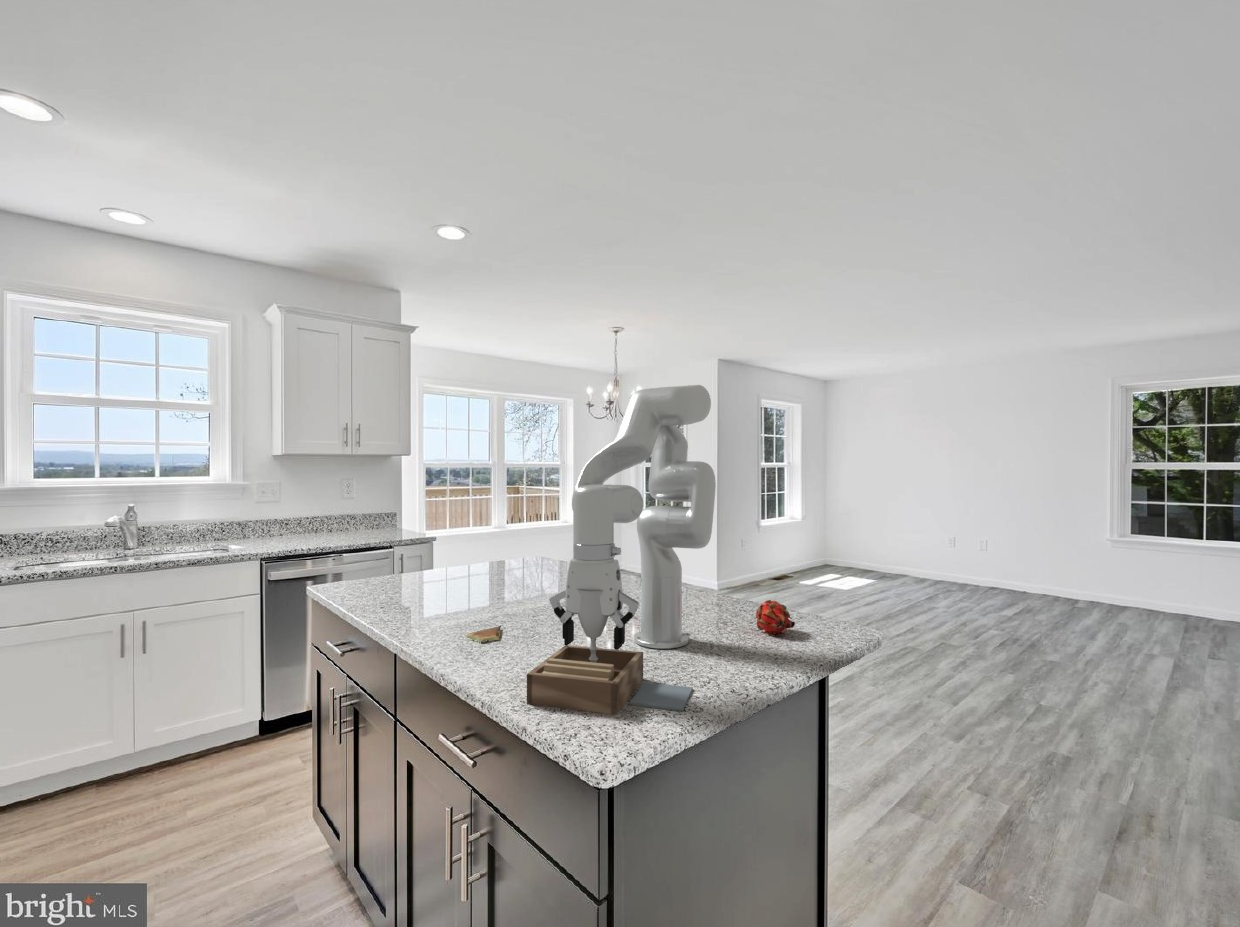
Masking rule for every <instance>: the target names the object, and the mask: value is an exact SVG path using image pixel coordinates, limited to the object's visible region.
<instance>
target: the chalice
mask: <svg viewBox="0 0 1240 927" xmlns="http://www.w3.org/2000/svg"><path fill="white" fill-rule="evenodd" d="M577 590H578V589H577ZM578 592H579V593H580V595H581V598H580V610H579V614H577V616H578V619H579V623H580V625H581V627H582V630H583V632H584V634H585V636H586V637H587V638H589V639H590V648H589V649H590V651H591V656H590V658H589V660H590V662H593V663H596V661H597V660H598V658H597V657H596V650H597V649H598V648H599V647H597V642H596V641H597V638H599V637H601V636H602V634H603V632H604V630H605V627H606V625H607V622H608V619H609V616H603V615H602V612H601V605H600V596H601V594H602V592H603V591H582V590H578Z"/></svg>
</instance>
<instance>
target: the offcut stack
mask: <svg viewBox="0 0 1240 927" xmlns="http://www.w3.org/2000/svg"><path fill="white" fill-rule="evenodd" d="M548 658H549V657H548ZM548 658H547V659H548ZM542 674H552V675H561V676H570V677H580V678H589V679H599V680H608V681H613V680H614V665H613V664H603V663H593V662H583V661H573V660H563V659H553V658H549V659H548V660H547V663H546V664H545V665H544V671H543V672H542Z"/></svg>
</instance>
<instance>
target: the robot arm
mask: <svg viewBox="0 0 1240 927" xmlns="http://www.w3.org/2000/svg"><path fill="white" fill-rule="evenodd" d="M711 401H712V400H711V395H710V393H709V391H708V389H707V388H706V387H705V386H703V385H701V384H692V385H691V384H690V385H689V384H688V385H679V386H678V385H677V386H662V387H653V388H644V389H638V390H637V391H635V392H634V393H633V394H632V395H631V396H630V397H629V400H628V403H627V405H626V407H625V411H624V412H623V416H622V418H621V421H620V423H619V427H618V429H617V432H616V435H615V437H614V439H613V440H612V441H611V442H610V443H608V444H606V445H605V446H604V447H603V448H602V449H600V450H599V451H598V452H597V453H596V454H595V455H593V456H592V457H591V458H590V459H589V460H588V461H587V462H586V463H585V465H584V466H583V468H582V469H581V471H580V473H579V476H578V478H577V482H576V484H575V487H574V489H573V493H572V497H571V510H572V513H573V514H572V515H573V516H572V517H573V522H572V523H573V526H572V527H573V528H572V529H573V532H572V533H573V536H572V540H573V543H572V544H573V546H572V549H573V550H572V552H573V556H572V557H573V558H572V559H570V560H569V565H568V569H567V577H566V582H565V583H566V584H565V589H564V590H562V591H561V592H559V593H557V594H555V595H552V596H551V597H550V598H549V599H548V601H549V603H550V606H551V607H552V609H553V613H554V614H555V615H556V617H557V618H558V619H559V622H560V623H561V624H562V636H561V637H562V639H564V643H563V644H564V646H565V645H570V644H572V643H573V642H574V641H575V627H574V626H575V621H574V619H572V618H573V617H574V615H578V614H579V610H580V598H581V595H580V593H579V592H578V590H582V591H603V592H602V594H601V596H600V605H601V612H602V615H603V616H608V617H610V618H611V620H612V621H613V623H614V624H615V627H613V649H614V650H620V649H621V648H622V647H623V645H624V644H625V641H626V624H628V622H629V621H630V620H631V619H633V618H634V616H635V614H636V612H637V610H638V609H639V607H640V631H639V632H637V633H636V634H634V638H633V639H634V642H635V643H636V644H637V645H639V646H642V647H645V648H651V649H658V650H659V649H665V650H667V649H668V650H669V649H675V648H676V649H677V648H680V647H683V646H686V645H688V644H689V636H688V634H686V633H685V632H683V626H682V625H683V620H682V619H683V618H682V617H683V615H682V614H683V609H682V608H683V607H682V606H683V604H682V603H683V595H682V594H683V590H682V589H683V587H682V586H683V580H682V578H683V577H682V576H683V574H682V573H683V570H682V564H681V563H682V562H681V560H680V558H679V557H678V554H677V552H675V548H676V549H697V550H698V549H703V548H705V547H706V546H708V545H709V543H710V541H711V538H712V537H711V536H712V533H713V523H714V510H715V502H716V501H715V500H716V488H717V486H716V484H717V483H716V481H717V480H716V475H715V470H714V469H713V468H712V465H710V464H709V463H708V462H704V461H698V460H697V461H692V460H691V461H687V460H688V459H687V458H688V451H689V450H688V449H689V448H688V446H689V445H688V441H687V439H686V437H685V435H684V434H683V432H682V430H680V429H679V427H678V426H687V425H693V424H695V423H700V422H702V421H704V420H706V419H707V417H708V415H709V414H710V411H711V406H712V402H711ZM650 457H651V459H650V467H649V477H648V492H649V495H650V496H651V498H653V500H656V501H662V502H677V503H678V502H679V503H681V502H683V503H684V502H687V503H690V506H678V505H677V506H676V505H651V506H647V507H645V508H644V500H643V496H642V494H641V492H640V491H639V490H638V489H637V488H636V487H634V486H631V485H627V484H605V482H606V481H608V480H609V479H610V478H611V477H613V476H615V475H617V474H618V473H620V472H623V471H625V470H628V469H630V468H633V467H635V466H637V465H639V464H642V463H643V462H645V461H647V460H648V459H649V458H650ZM635 520H636V531H637V538H638V542H639V543H638V544H639V548H640V549H639V550H640V603H639V601H637V600H635V599H634V598H633V597H630V596H628V594H626V593H624V592H623V584H622V575H621V569H620V563H619V560H618V559H614V558H615V557H616V556H620V555H621V554H622V548H621V547H617V546H616V543H615V541H614V537H615V535H614V534H615V532H614V531H615V528H614V526H615V524H628V523H632V522H634V521H635ZM577 589H578V590H577ZM562 599H565V600H564V602H565V609H564V608H563V605H561V603H560V602H561V600H562ZM623 604H625V605H626V606H628V610H627V612H626V614H624V613H623V612H622V611H621V610H623Z"/></svg>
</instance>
